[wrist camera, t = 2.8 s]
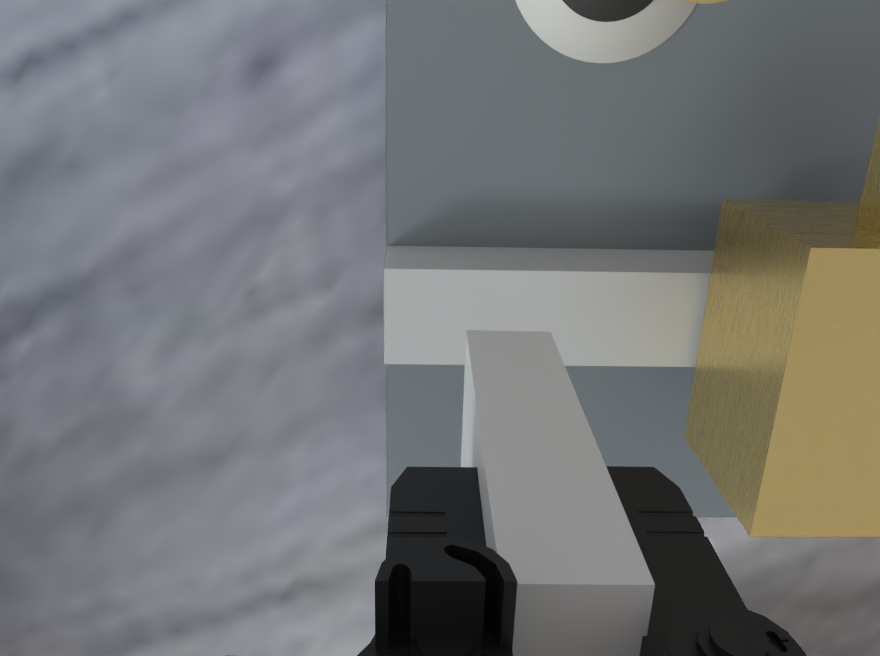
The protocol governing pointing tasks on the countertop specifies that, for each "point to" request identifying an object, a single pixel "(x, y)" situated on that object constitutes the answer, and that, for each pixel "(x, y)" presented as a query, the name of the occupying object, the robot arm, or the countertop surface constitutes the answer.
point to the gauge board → (598, 192)
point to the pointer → (794, 365)
